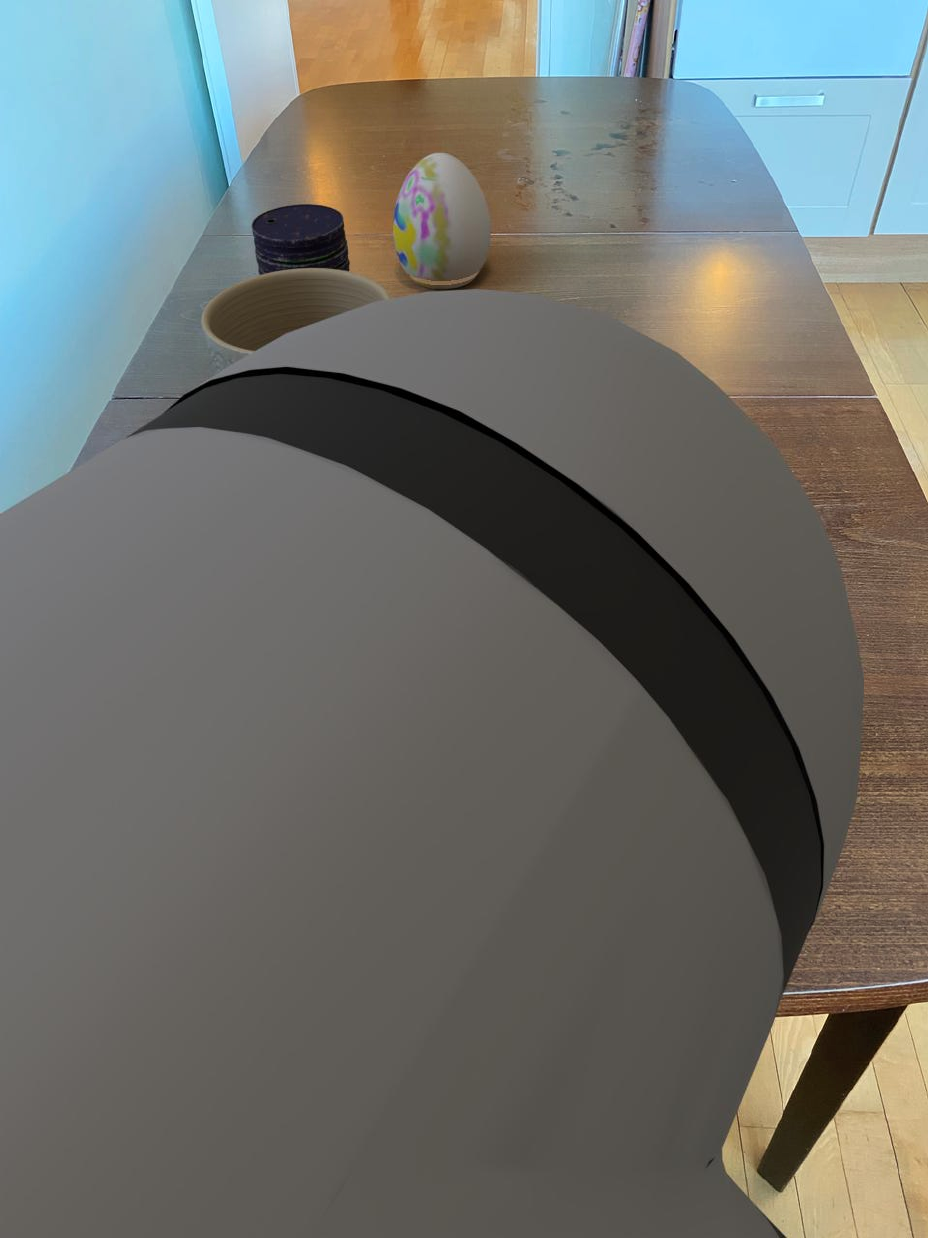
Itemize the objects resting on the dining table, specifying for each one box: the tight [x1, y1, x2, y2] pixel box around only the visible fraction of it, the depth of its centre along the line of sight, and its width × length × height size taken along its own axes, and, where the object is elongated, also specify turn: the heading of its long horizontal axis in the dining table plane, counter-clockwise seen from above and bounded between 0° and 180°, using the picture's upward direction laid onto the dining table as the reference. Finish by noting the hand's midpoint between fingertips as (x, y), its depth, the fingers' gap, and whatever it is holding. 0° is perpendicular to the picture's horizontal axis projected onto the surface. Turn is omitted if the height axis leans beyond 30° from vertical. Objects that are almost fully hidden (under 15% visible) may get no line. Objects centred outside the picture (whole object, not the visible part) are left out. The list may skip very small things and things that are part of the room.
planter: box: [201, 268, 392, 376], centre depth 89 cm, size 17×17×15 cm
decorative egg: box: [392, 152, 492, 290], centre depth 118 cm, size 12×12×15 cm
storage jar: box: [251, 203, 351, 275], centre depth 104 cm, size 10×10×15 cm
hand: (444, 733), depth 54 cm, fingers closed
